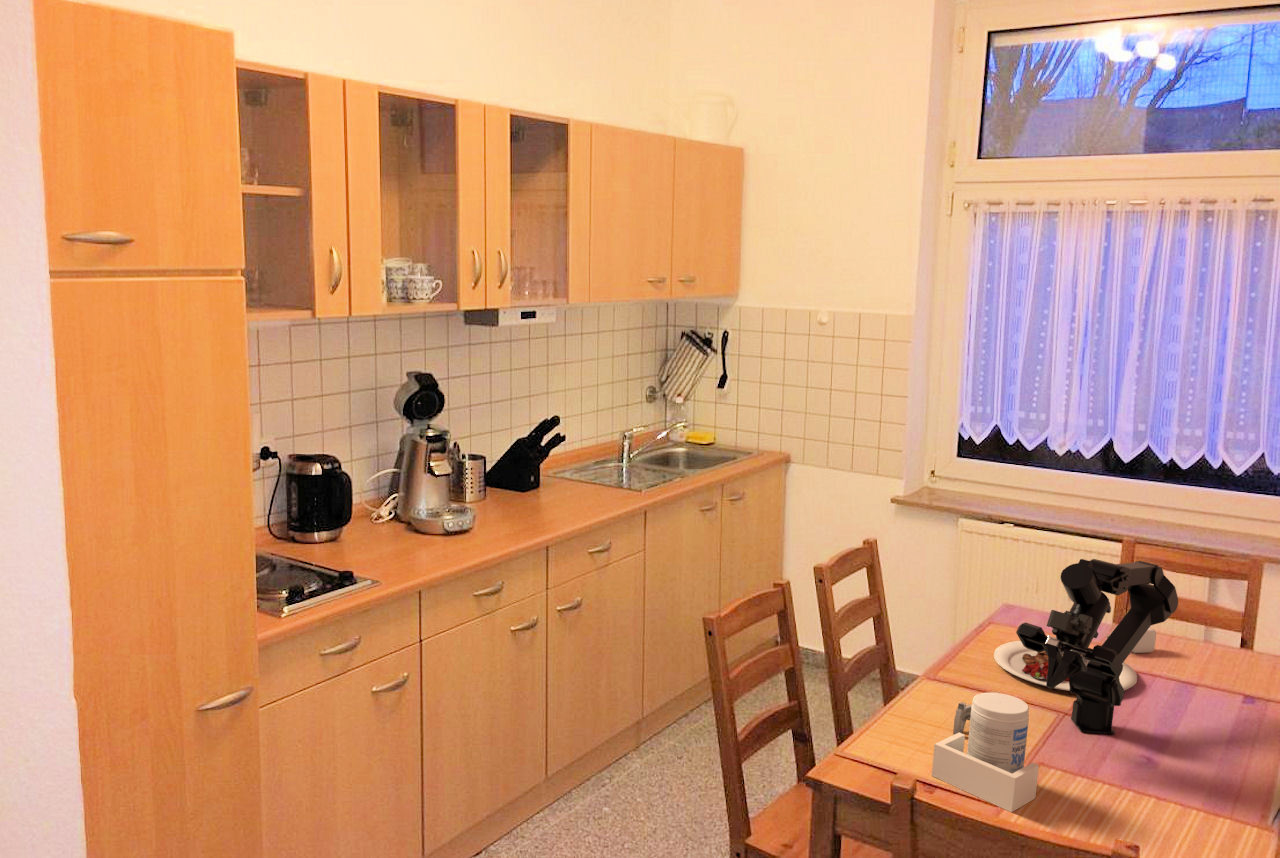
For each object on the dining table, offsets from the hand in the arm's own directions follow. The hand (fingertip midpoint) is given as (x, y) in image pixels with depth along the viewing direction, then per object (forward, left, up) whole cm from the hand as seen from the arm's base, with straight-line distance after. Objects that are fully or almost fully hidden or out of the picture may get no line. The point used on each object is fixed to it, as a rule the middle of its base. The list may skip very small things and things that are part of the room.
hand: (1049, 687), depth 195 cm
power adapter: (-38, -59, -13) cm, 71 cm away
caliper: (+9, -14, -14) cm, 22 cm away
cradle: (+14, +14, -13) cm, 24 cm away
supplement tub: (+12, +12, -13) cm, 22 cm away
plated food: (-18, -43, -14) cm, 49 cm away
